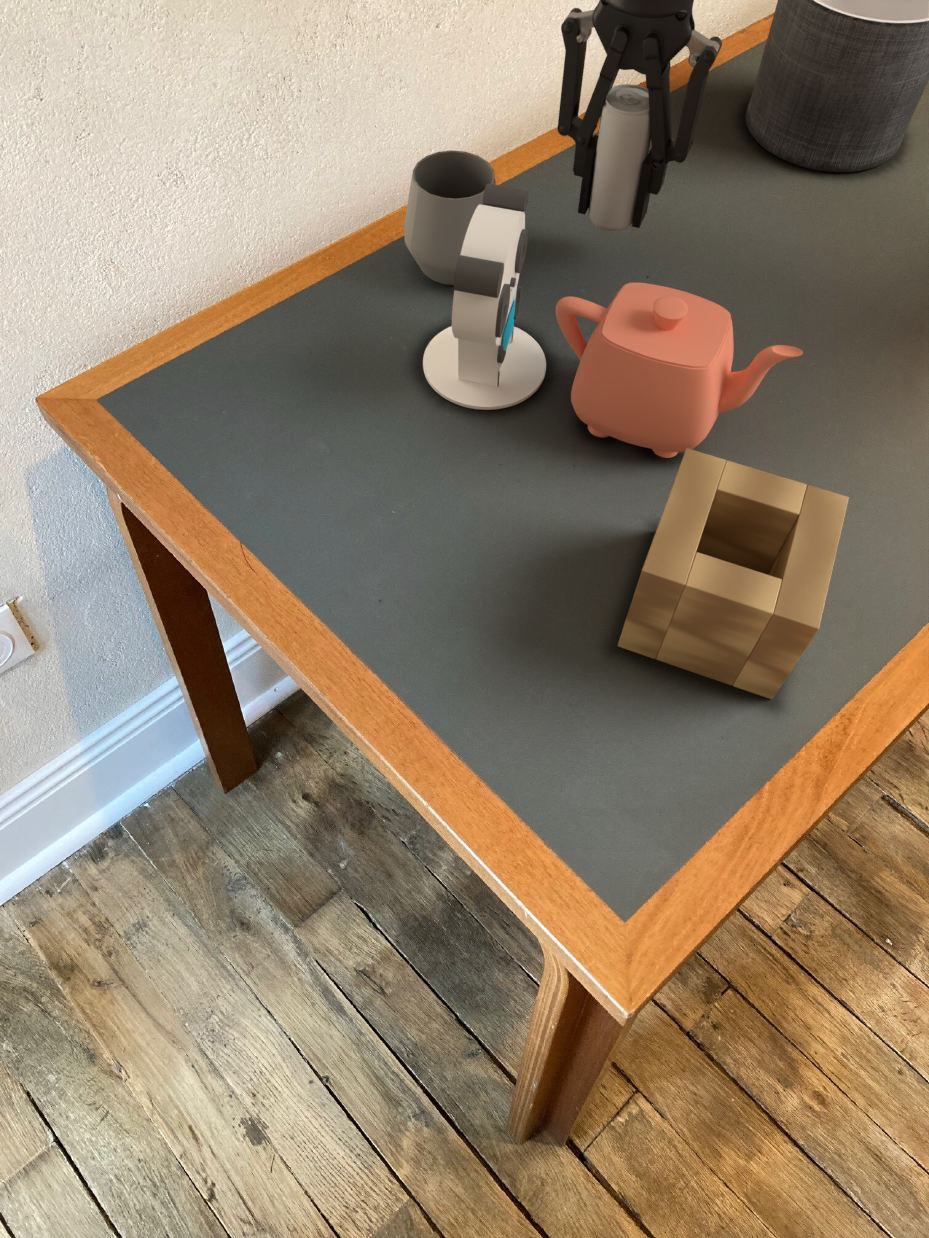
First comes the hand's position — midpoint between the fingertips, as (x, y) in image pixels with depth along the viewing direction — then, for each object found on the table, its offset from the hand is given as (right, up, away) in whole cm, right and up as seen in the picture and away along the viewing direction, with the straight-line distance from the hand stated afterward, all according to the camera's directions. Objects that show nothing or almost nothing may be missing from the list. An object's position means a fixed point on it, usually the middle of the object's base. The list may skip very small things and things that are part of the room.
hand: (612, 212), depth 93 cm
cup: (-16, -5, +2) cm, 17 cm away
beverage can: (0, 0, +1) cm, 1 cm away
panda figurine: (-13, -17, -6) cm, 22 cm away
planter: (+27, +17, +16) cm, 35 cm away
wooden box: (+5, -39, -20) cm, 44 cm away
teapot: (+2, -22, -9) cm, 24 cm away
